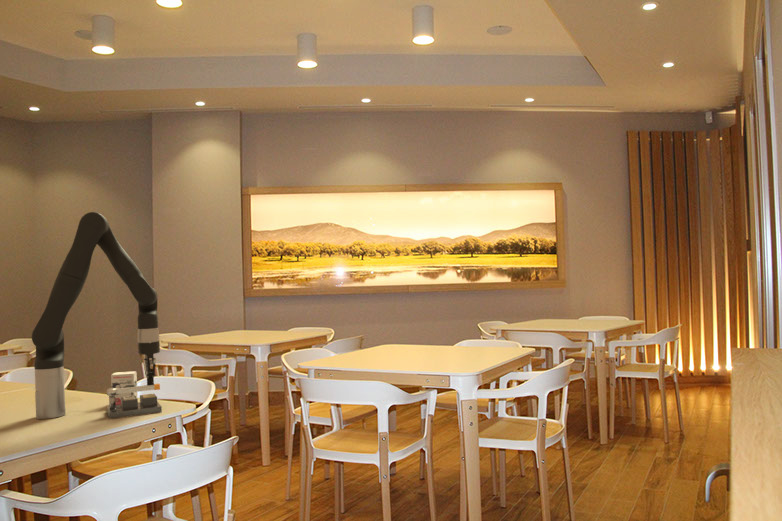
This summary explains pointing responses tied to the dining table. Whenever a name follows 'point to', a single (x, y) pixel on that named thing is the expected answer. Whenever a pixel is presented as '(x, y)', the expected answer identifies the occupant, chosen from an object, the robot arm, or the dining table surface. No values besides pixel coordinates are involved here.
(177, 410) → the dining table surface
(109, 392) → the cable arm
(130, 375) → the ink box
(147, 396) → the dark boxy piece
